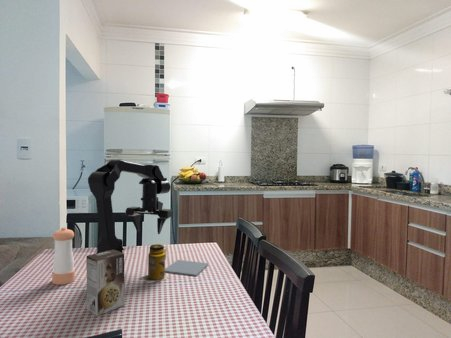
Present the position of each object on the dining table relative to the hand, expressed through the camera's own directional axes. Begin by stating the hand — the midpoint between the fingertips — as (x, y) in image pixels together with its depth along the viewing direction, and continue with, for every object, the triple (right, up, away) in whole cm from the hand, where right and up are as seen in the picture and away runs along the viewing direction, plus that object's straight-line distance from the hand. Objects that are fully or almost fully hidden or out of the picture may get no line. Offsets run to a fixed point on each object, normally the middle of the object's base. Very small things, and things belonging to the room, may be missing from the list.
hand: (148, 233), depth 137 cm
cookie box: (-4, -15, -37) cm, 40 cm away
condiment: (+5, -15, -13) cm, 20 cm away
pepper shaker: (-27, -14, -17) cm, 34 cm away
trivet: (+16, -14, -1) cm, 21 cm away
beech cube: (+2, -13, +11) cm, 17 cm away
